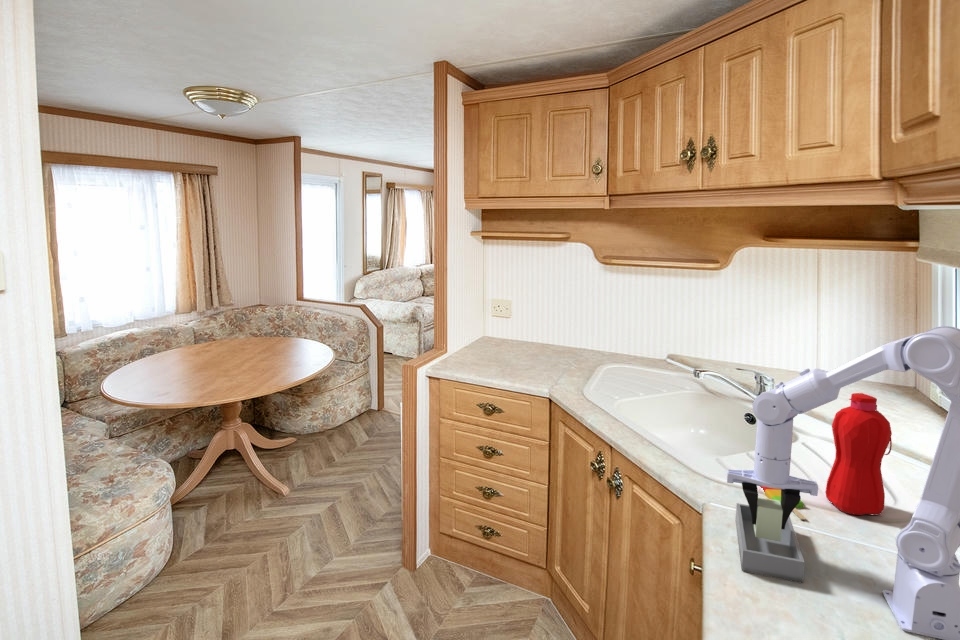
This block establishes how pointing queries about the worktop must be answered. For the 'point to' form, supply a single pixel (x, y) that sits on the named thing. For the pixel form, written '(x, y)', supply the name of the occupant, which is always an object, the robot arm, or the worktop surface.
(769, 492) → the popsicle
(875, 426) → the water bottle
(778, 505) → the sage block
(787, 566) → the bin
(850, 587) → the worktop surface
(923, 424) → the worktop surface
